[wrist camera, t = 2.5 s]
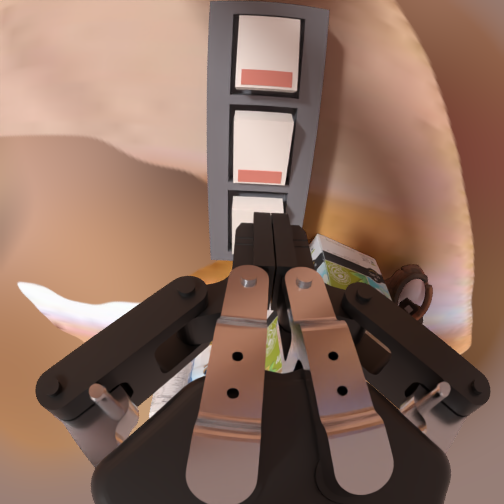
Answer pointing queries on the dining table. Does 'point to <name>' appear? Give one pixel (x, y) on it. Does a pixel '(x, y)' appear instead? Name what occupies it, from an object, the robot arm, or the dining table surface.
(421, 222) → the dining table surface
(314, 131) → the strip housing
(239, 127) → the rocker
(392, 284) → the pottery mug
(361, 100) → the dining table surface
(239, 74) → the plate
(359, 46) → the dining table surface
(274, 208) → the rocker
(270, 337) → the tea box
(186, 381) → the supplement tub
